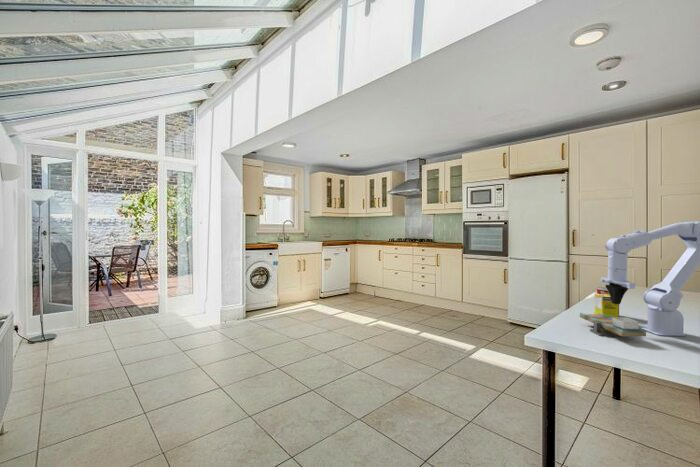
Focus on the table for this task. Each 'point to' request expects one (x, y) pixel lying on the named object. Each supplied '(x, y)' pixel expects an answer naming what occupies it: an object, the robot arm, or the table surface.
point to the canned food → (604, 291)
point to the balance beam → (610, 324)
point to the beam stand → (602, 330)
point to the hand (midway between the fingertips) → (616, 303)
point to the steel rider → (625, 324)
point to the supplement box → (605, 305)
